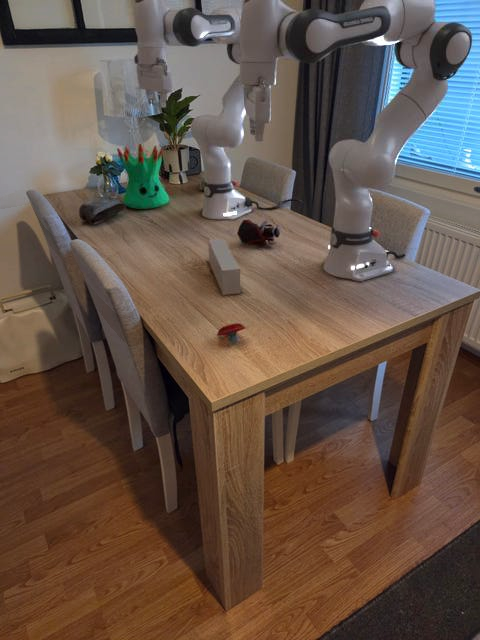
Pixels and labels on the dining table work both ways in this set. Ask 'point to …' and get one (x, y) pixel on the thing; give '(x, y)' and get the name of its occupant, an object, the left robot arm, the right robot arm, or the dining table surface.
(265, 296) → the dining table surface
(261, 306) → the dining table surface
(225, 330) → the red mushroom
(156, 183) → the toy
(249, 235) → the toy
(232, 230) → the dining table surface
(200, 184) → the artifact
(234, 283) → the bar
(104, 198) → the rock
